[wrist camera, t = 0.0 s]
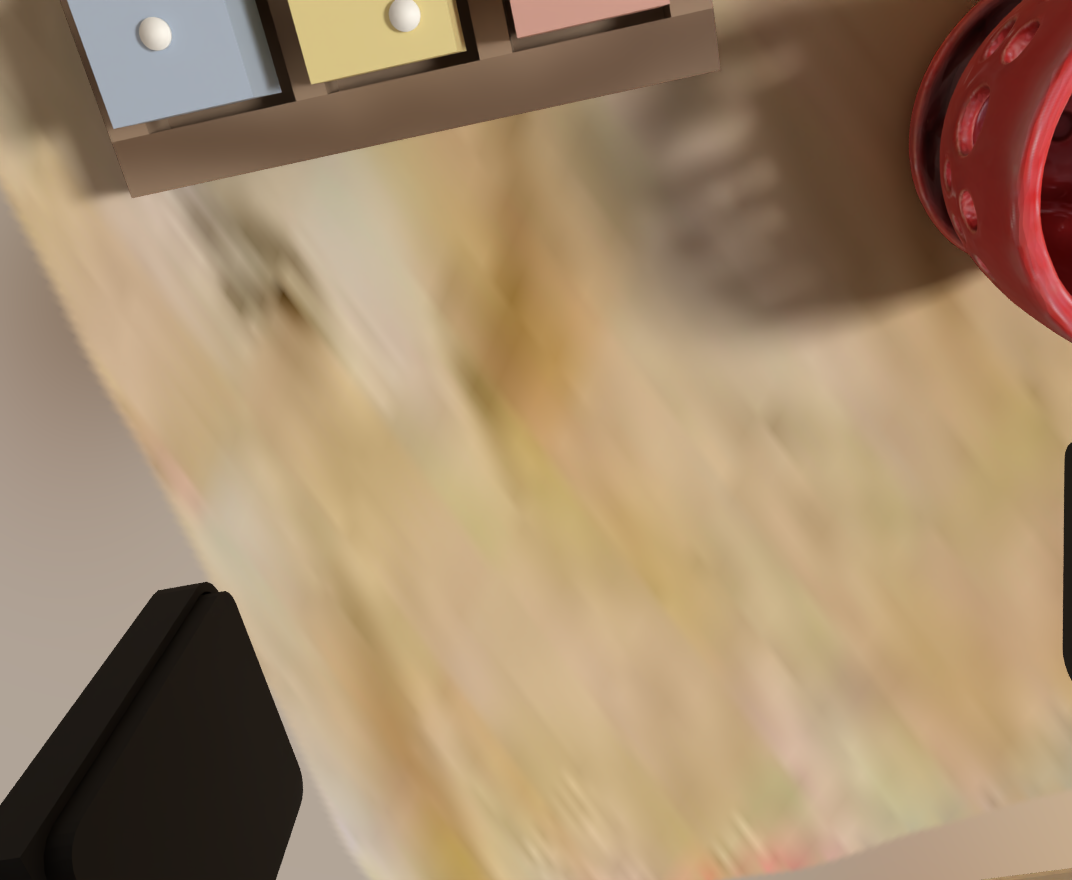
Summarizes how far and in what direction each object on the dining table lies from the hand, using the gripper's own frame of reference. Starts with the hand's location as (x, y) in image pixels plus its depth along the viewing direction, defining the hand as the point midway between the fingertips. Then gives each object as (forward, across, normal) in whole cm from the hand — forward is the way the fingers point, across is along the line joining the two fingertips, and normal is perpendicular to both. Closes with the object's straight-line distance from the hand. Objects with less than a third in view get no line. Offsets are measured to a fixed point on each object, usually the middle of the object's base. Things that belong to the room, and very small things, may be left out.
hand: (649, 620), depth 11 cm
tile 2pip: (+28, +5, -9) cm, 30 cm away
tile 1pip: (+28, +13, -9) cm, 32 cm away
